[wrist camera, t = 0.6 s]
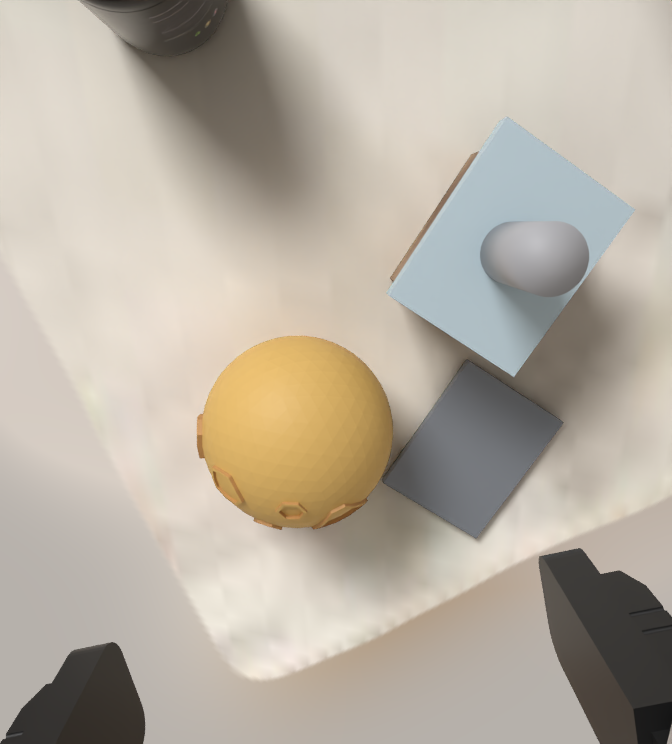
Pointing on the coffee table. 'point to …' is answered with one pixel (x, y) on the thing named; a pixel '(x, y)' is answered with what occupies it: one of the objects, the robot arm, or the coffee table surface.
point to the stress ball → (296, 432)
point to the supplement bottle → (160, 22)
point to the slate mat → (472, 449)
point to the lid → (509, 247)
